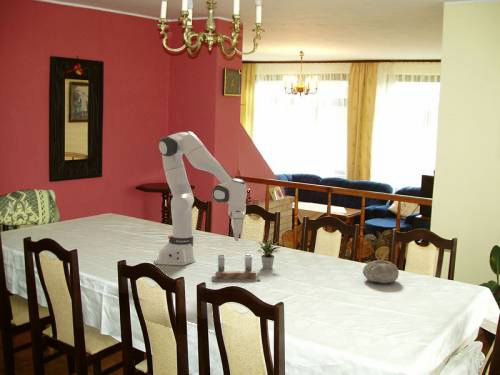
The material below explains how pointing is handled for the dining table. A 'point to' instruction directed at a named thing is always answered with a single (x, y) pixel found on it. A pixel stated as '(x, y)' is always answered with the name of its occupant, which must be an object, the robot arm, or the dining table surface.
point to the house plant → (268, 254)
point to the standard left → (221, 263)
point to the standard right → (248, 262)
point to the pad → (233, 279)
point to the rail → (236, 275)
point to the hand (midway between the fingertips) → (235, 238)
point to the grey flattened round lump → (381, 271)
